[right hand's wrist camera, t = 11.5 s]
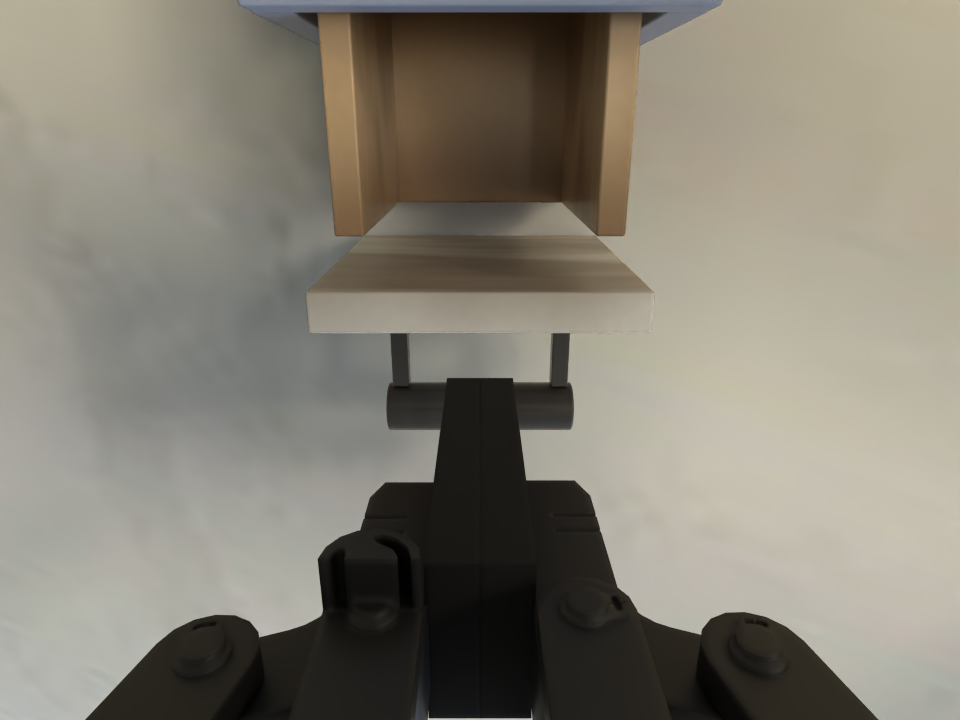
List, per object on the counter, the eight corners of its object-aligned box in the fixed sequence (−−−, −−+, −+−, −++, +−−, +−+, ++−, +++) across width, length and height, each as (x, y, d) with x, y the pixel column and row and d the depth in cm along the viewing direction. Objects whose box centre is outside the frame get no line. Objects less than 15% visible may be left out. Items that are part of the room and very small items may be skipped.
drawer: (587, 380, 29) (635, 496, 20) (373, 380, 29) (324, 496, 20) (624, -222, 21) (730, -478, 12) (335, -222, 21) (228, -477, 12)
